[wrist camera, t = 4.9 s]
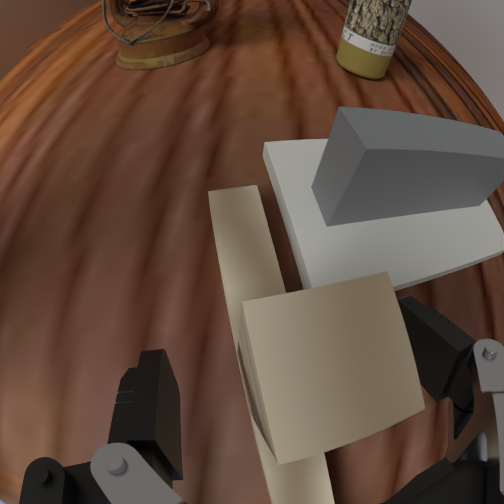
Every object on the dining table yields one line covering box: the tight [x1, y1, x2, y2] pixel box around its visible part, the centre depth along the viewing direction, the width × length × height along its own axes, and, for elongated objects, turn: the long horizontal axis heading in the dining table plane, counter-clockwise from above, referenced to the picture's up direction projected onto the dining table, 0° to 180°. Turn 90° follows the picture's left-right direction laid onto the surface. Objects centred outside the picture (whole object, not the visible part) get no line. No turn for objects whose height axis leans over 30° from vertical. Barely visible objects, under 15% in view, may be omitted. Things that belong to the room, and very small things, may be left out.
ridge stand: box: [263, 107, 504, 291], centre depth 16 cm, size 20×12×8 cm, turn 102°
